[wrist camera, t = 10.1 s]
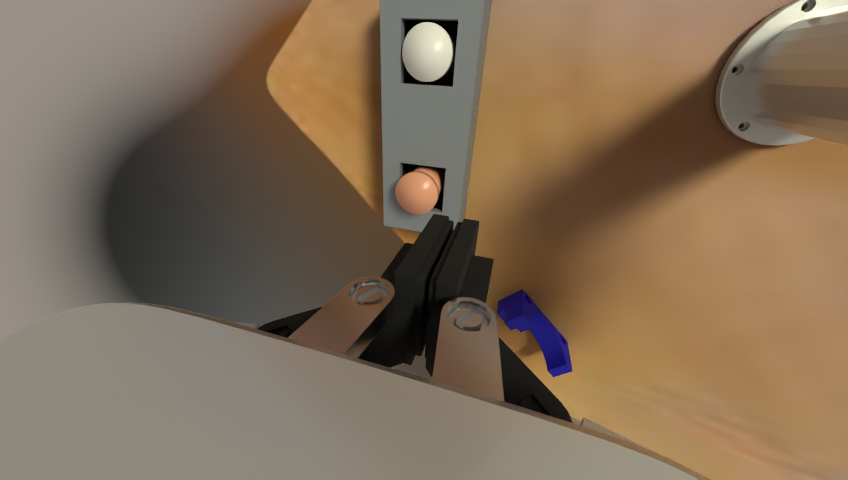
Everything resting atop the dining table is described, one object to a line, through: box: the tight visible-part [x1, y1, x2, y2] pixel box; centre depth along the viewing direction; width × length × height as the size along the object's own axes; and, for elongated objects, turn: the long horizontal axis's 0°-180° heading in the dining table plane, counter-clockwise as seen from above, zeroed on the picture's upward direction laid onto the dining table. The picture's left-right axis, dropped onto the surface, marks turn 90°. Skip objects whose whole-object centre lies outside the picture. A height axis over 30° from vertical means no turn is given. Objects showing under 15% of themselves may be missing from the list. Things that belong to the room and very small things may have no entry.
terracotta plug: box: [395, 165, 445, 215], centre depth 38 cm, size 5×5×6 cm
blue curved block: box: [497, 290, 572, 377], centre depth 47 cm, size 12×4×6 cm, turn 43°
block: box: [380, 0, 492, 232], centre depth 36 cm, size 10×26×6 cm, turn 177°
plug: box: [402, 22, 456, 82], centre depth 32 cm, size 5×5×6 cm
